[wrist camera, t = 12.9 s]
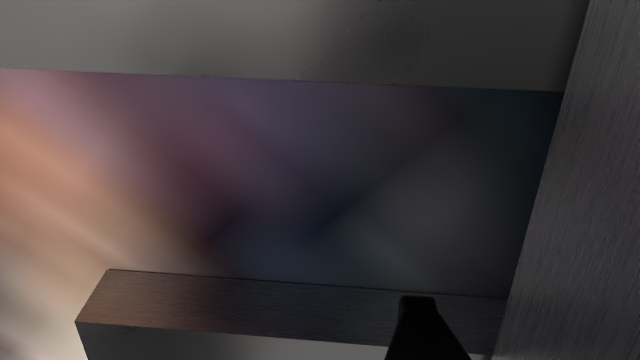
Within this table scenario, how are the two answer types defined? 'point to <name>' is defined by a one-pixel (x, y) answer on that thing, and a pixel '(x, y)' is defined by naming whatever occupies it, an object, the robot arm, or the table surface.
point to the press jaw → (586, 209)
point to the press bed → (301, 65)
